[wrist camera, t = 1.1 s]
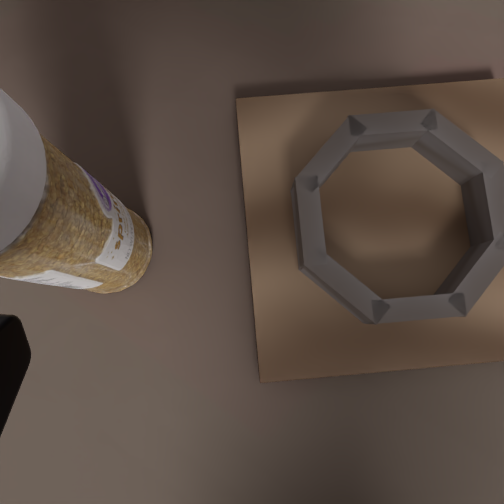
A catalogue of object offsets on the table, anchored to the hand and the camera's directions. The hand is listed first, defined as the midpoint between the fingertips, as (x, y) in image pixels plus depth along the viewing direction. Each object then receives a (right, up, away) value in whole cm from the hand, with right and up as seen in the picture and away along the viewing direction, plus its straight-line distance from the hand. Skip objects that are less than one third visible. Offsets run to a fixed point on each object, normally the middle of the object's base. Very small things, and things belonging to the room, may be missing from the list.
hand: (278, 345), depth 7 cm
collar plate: (+6, +3, +14) cm, 16 cm away
